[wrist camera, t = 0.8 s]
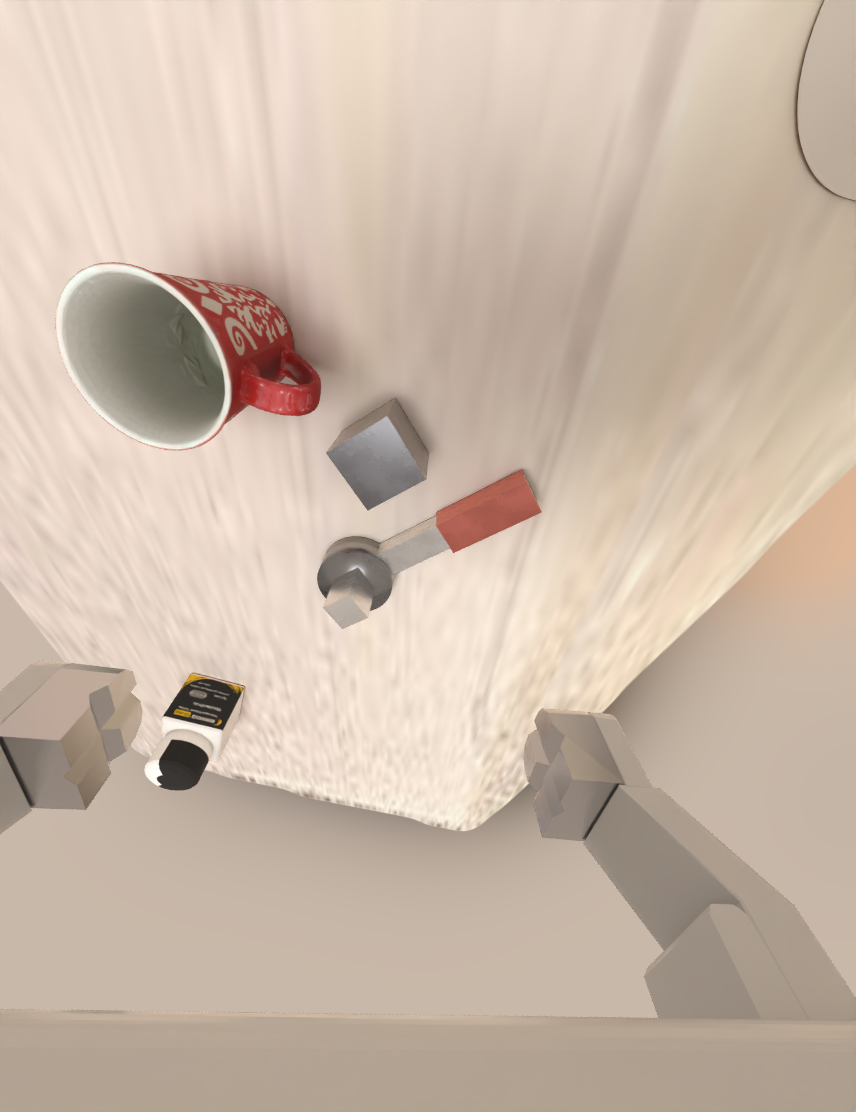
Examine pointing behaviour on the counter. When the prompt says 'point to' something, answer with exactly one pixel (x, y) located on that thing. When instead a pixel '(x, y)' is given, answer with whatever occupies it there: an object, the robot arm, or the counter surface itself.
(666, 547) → the counter surface
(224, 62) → the counter surface
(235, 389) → the mug
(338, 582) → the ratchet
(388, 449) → the matte grey cube
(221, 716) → the medicine bottle
